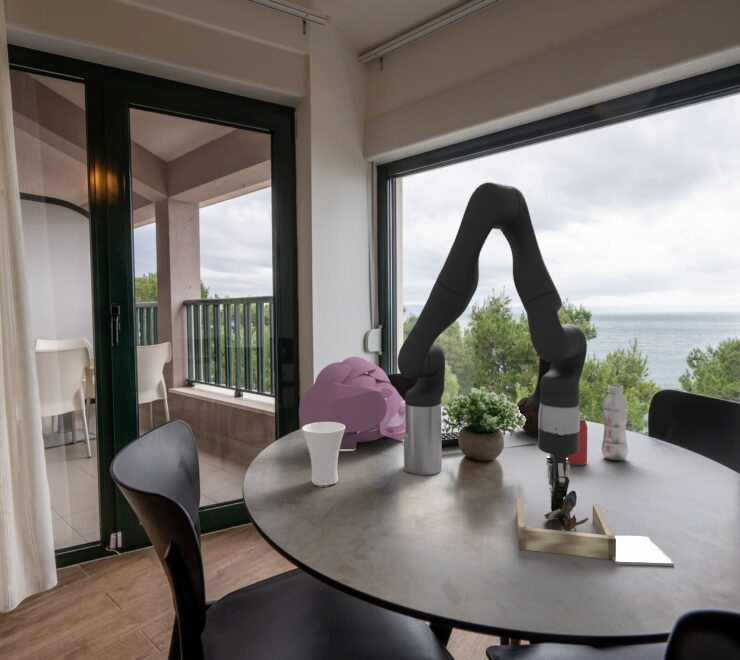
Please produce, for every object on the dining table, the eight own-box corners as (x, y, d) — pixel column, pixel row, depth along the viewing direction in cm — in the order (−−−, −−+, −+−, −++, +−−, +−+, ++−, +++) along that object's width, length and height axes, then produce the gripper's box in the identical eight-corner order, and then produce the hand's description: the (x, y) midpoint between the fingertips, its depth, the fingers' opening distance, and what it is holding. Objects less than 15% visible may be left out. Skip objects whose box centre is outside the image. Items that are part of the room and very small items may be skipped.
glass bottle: (511, 427, 167) (512, 345, 166) (566, 428, 165) (567, 345, 163) (520, 441, 149) (520, 351, 148) (581, 443, 147) (582, 350, 145)
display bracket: (519, 549, 85) (519, 529, 85) (516, 514, 99) (516, 497, 98) (616, 559, 81) (616, 539, 81) (599, 522, 95) (599, 504, 94)
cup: (355, 481, 118) (354, 426, 118) (322, 493, 111) (321, 435, 110) (326, 471, 126) (325, 419, 125) (294, 482, 118) (292, 427, 117)
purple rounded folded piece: (370, 441, 170) (361, 361, 174) (429, 437, 157) (418, 350, 161) (300, 457, 142) (291, 361, 146) (365, 455, 128) (352, 349, 132)
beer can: (589, 467, 126) (590, 421, 125) (562, 465, 127) (563, 420, 126) (583, 459, 132) (584, 415, 132) (558, 458, 134) (558, 414, 133)
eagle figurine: (598, 536, 87) (584, 504, 96) (580, 505, 86) (568, 476, 95) (558, 551, 89) (548, 519, 98) (540, 521, 88) (531, 491, 97)
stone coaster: (615, 564, 79) (615, 561, 79) (595, 537, 88) (595, 535, 88) (673, 566, 79) (673, 563, 79) (646, 539, 88) (647, 536, 88)
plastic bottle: (602, 461, 130) (603, 387, 129) (600, 454, 136) (601, 383, 135) (629, 464, 127) (630, 388, 126) (626, 456, 134) (627, 384, 132)
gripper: (535, 417, 102) (534, 497, 104) (541, 435, 90) (540, 526, 91) (573, 419, 101) (572, 500, 102) (585, 437, 88) (583, 530, 89)
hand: (556, 512), depth 96 cm, fingers closed
